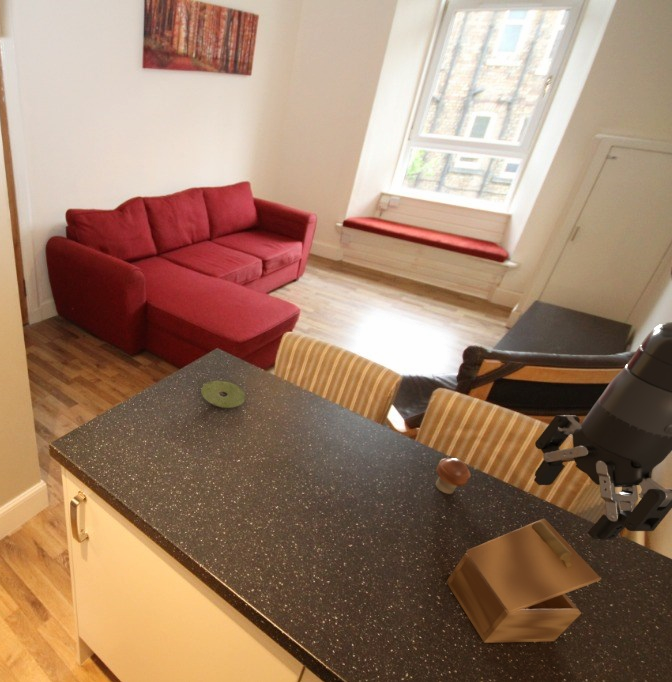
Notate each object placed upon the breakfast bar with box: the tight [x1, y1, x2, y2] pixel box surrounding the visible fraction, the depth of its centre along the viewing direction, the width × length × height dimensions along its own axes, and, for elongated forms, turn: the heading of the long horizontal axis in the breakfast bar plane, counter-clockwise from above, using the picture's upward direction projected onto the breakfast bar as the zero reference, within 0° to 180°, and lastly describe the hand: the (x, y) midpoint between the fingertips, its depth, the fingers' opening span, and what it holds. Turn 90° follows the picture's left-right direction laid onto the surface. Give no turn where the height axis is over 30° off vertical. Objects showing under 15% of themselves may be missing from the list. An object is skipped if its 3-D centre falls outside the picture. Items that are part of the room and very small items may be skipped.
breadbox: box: [445, 553, 582, 644], centre depth 69 cm, size 11×9×8 cm
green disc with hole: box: [200, 380, 246, 409], centre depth 113 cm, size 11×11×2 cm
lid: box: [465, 518, 602, 613], centre depth 64 cm, size 12×9×5 cm
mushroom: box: [435, 457, 472, 495], centre depth 91 cm, size 6×6×7 cm
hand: (567, 508), depth 59 cm, fingers open, 8 cm apart
